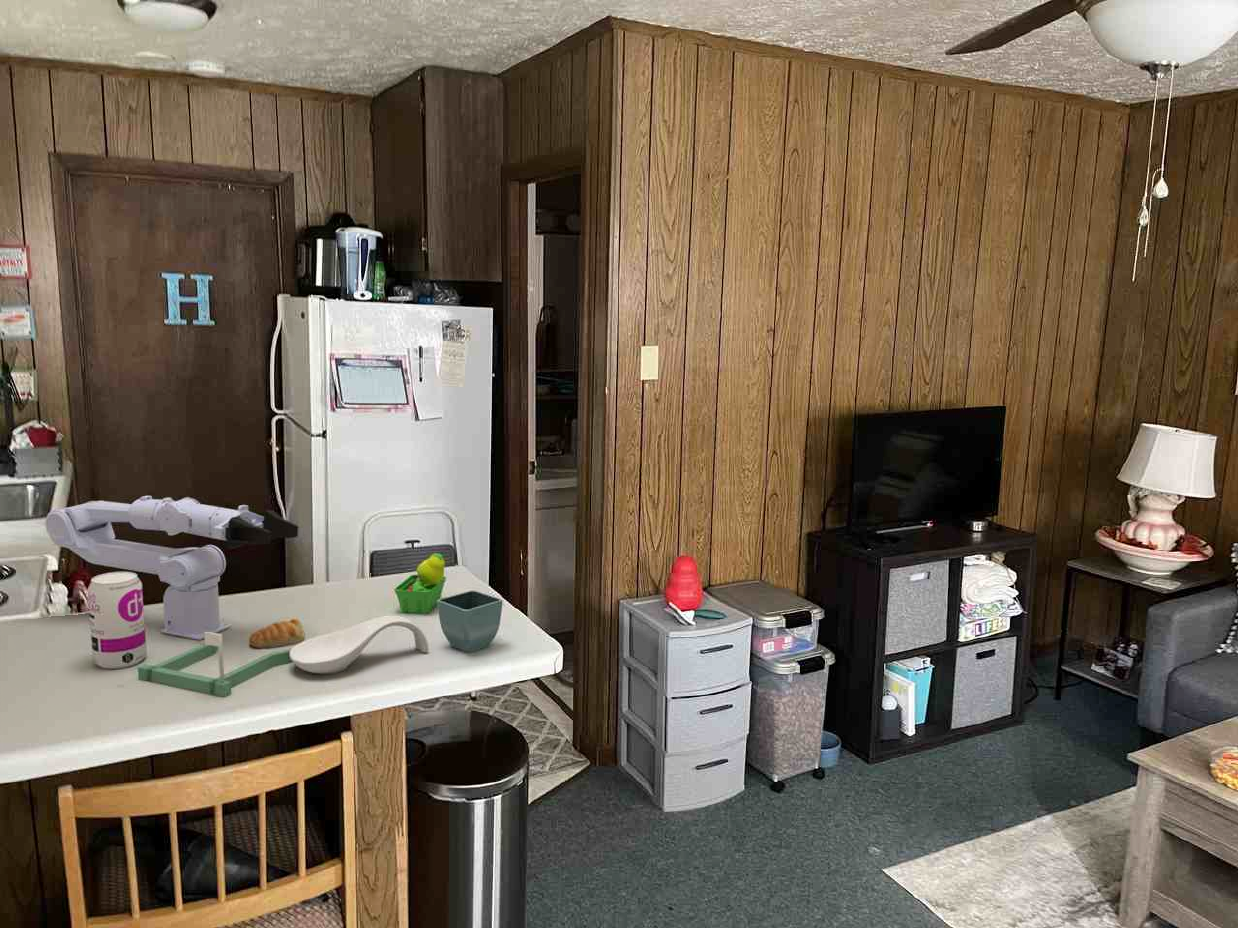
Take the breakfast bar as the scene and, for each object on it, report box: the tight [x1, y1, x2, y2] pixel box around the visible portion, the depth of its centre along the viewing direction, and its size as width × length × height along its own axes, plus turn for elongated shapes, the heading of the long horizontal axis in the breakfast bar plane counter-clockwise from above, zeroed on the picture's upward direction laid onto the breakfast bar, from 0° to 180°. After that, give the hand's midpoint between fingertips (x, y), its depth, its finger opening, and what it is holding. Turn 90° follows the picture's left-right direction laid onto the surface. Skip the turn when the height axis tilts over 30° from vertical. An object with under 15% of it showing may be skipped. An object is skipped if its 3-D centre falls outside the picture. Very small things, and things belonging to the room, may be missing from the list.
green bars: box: [137, 632, 294, 698], centre depth 166 cm, size 19×18×10 cm
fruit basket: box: [394, 553, 447, 614], centre depth 201 cm, size 11×9×11 cm
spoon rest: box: [290, 615, 429, 675], centre depth 171 cm, size 24×12×7 cm, turn 123°
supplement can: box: [87, 571, 148, 670], centre depth 168 cm, size 8×8×15 cm
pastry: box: [248, 618, 306, 649], centre depth 180 cm, size 9×7×4 cm
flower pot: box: [436, 589, 504, 653], centre depth 179 cm, size 9×9×9 cm
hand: (283, 534), depth 175 cm, fingers open, 7 cm apart
